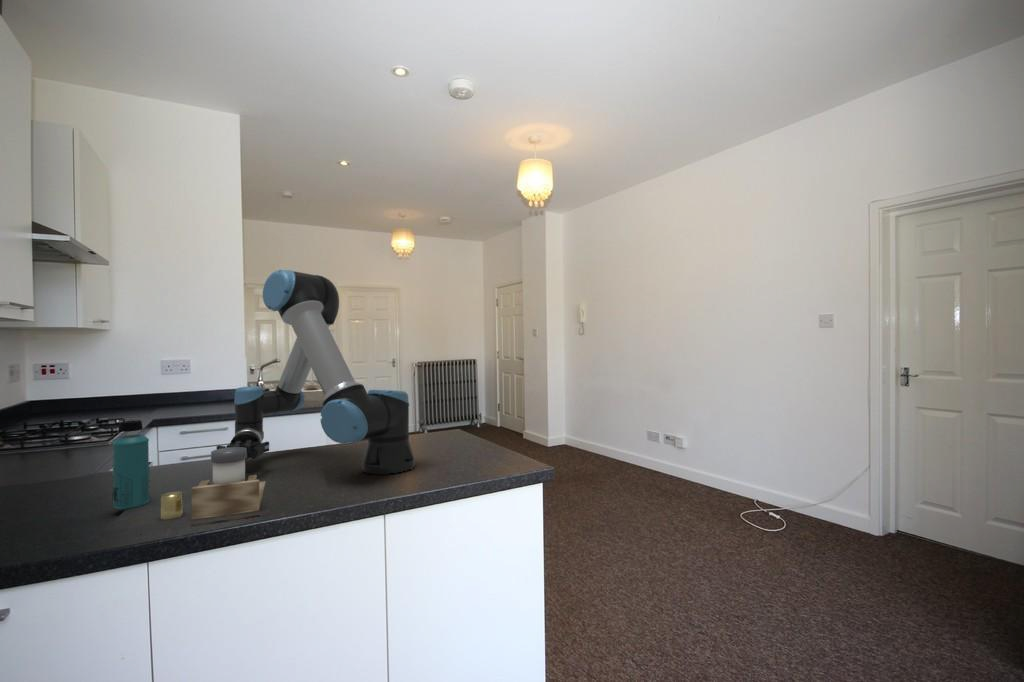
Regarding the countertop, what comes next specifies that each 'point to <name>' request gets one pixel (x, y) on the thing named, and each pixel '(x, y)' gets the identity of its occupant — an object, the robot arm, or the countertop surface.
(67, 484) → the countertop surface
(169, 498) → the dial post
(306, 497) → the countertop surface
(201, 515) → the mount
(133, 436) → the beverage bottle
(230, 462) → the grey-lidded white jar
